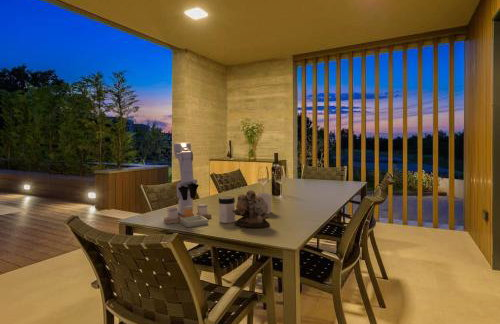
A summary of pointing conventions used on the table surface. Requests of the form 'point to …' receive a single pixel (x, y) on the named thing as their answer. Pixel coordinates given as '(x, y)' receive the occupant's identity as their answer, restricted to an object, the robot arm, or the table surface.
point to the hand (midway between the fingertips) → (188, 199)
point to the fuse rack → (183, 217)
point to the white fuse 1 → (172, 213)
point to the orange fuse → (187, 211)
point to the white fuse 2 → (202, 209)
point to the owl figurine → (251, 211)
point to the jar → (226, 209)
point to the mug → (266, 200)
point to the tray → (194, 221)
